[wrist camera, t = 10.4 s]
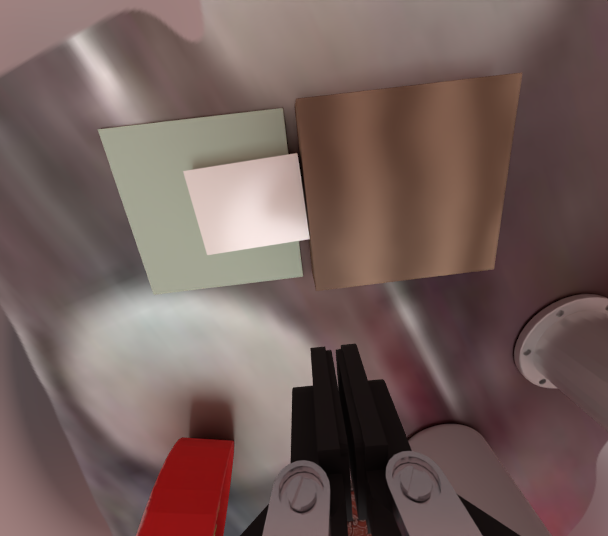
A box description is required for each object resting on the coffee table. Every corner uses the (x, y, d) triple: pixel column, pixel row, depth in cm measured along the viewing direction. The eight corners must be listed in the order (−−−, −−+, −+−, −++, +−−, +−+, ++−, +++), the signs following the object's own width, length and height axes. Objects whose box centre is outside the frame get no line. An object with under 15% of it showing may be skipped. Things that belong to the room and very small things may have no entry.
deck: (486, 85, 24) (522, 72, 20) (467, 254, 30) (493, 269, 26) (294, 107, 24) (296, 98, 20) (312, 273, 29) (316, 291, 26)
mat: (282, 108, 24) (282, 107, 23) (302, 274, 29) (303, 276, 29) (100, 129, 24) (97, 129, 23) (155, 292, 29) (153, 294, 29)
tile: (296, 153, 25) (297, 153, 22) (307, 231, 27) (309, 239, 25) (192, 169, 25) (183, 171, 22) (213, 246, 27) (207, 255, 25)
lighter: (322, 508, 44) (332, 603, 34) (313, 495, 42) (320, 591, 33) (372, 490, 43) (395, 583, 34) (364, 477, 42) (386, 570, 32)
